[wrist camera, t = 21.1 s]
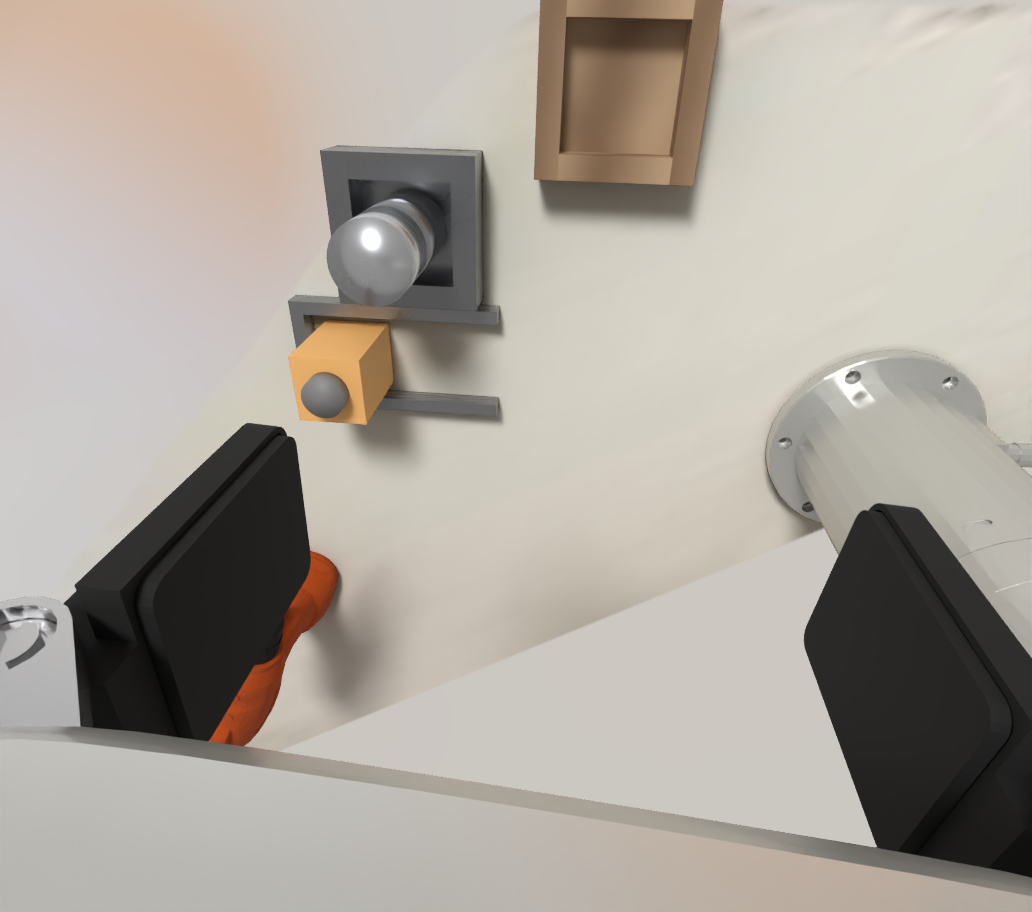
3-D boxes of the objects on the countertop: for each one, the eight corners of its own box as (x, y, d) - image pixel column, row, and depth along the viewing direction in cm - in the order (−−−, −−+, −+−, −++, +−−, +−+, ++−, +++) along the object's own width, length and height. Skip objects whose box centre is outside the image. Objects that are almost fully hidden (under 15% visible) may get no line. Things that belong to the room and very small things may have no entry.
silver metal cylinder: (444, 190, 34) (409, 220, 27) (447, 264, 36) (415, 309, 29) (373, 188, 34) (320, 216, 27) (380, 261, 36) (333, 304, 29)
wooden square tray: (715, -9, 29) (725, -15, 27) (686, 178, 33) (693, 185, 31) (544, -12, 29) (541, -18, 27) (537, 173, 33) (534, 179, 31)
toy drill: (384, 458, 44) (303, 611, 32) (324, 620, 54) (244, 788, 41) (319, 431, 44) (210, 578, 31) (270, 601, 53) (172, 765, 41)
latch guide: (499, 306, 38) (496, 312, 36) (498, 407, 41) (496, 416, 40) (296, 294, 38) (287, 300, 37) (312, 395, 42) (306, 403, 41)
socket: (482, 150, 33) (474, 156, 31) (483, 297, 37) (476, 311, 35) (337, 145, 34) (320, 150, 31) (354, 290, 38) (340, 303, 36)
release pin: (388, 323, 39) (352, 368, 33) (393, 381, 41) (361, 432, 35) (326, 319, 39) (280, 363, 33) (335, 377, 41) (293, 428, 35)
